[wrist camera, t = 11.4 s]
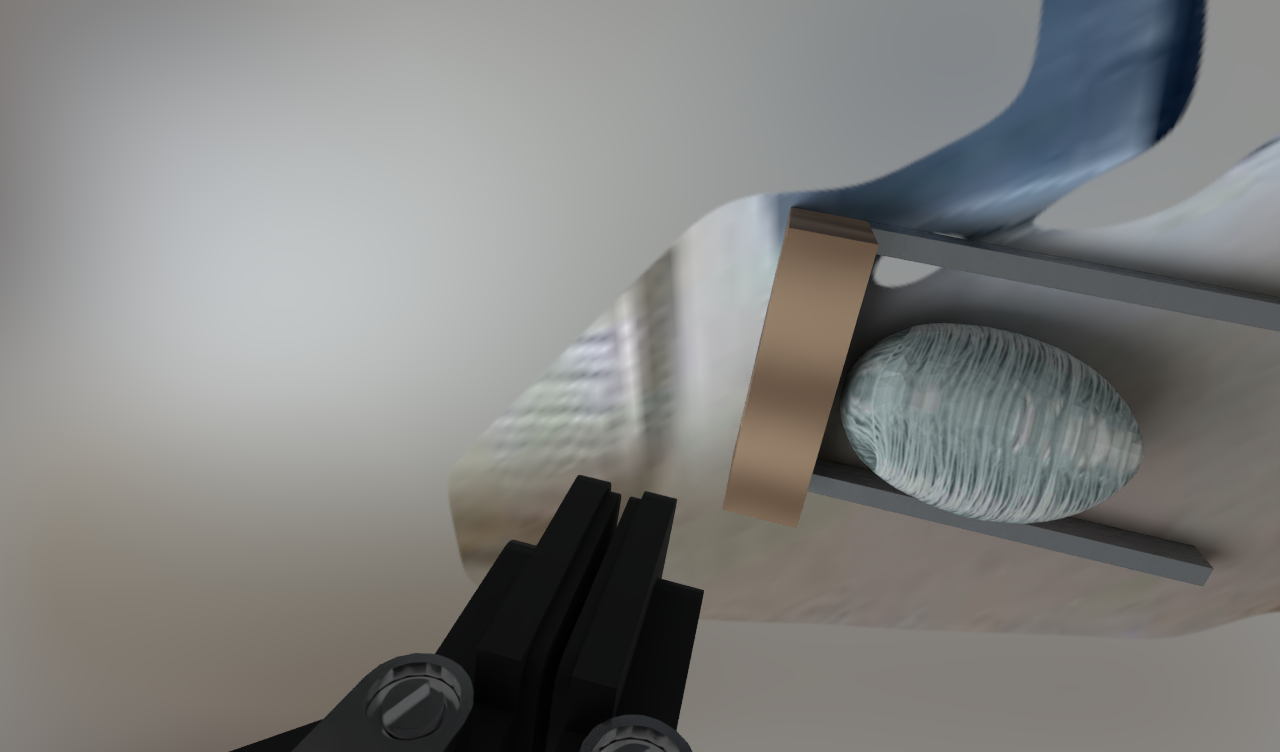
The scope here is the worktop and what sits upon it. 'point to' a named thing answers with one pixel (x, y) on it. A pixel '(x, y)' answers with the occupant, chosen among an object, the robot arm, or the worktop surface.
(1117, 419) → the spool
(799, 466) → the end stop
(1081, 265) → the guide rails
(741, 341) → the worktop surface
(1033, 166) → the worktop surface
